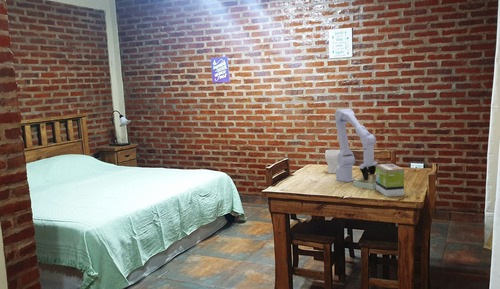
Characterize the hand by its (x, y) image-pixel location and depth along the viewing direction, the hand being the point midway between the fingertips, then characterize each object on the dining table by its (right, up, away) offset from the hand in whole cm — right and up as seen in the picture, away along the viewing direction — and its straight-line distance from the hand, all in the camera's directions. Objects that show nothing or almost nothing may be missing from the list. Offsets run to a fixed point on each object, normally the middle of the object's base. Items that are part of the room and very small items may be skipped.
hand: (368, 179), depth 249 cm
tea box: (+7, -6, -16) cm, 19 cm away
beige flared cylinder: (-12, +1, +43) cm, 45 cm away
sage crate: (0, -4, +1) cm, 4 cm away
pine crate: (0, -2, 0) cm, 2 cm away
